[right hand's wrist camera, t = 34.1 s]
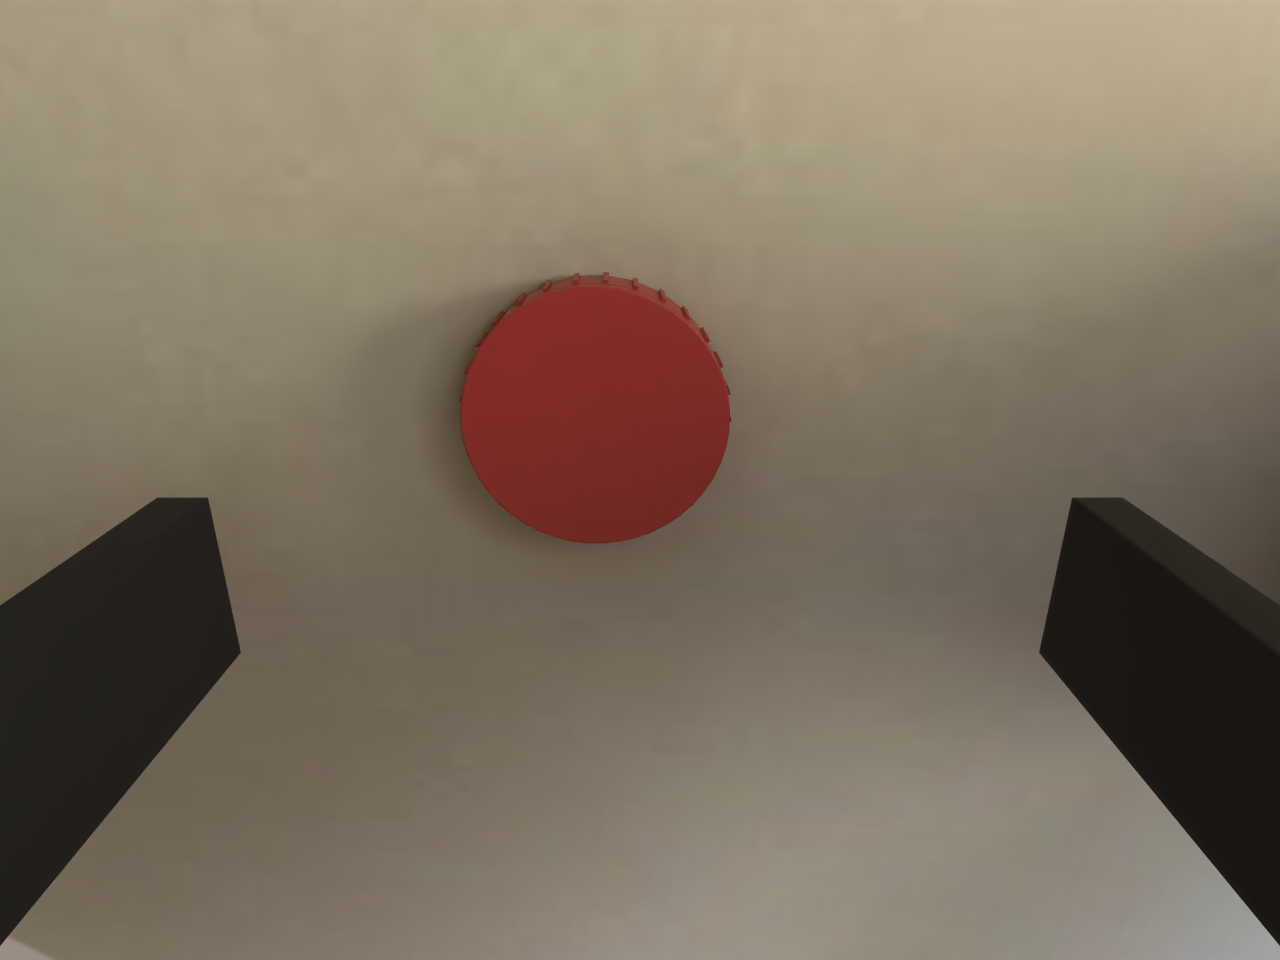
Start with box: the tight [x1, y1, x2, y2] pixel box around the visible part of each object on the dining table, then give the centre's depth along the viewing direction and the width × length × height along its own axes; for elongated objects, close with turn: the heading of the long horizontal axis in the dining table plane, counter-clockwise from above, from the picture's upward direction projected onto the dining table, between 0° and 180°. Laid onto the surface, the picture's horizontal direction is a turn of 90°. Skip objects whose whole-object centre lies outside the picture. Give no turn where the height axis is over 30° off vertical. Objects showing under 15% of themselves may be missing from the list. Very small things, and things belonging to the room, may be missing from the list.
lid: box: [460, 272, 731, 543], centre depth 19 cm, size 6×6×2 cm
